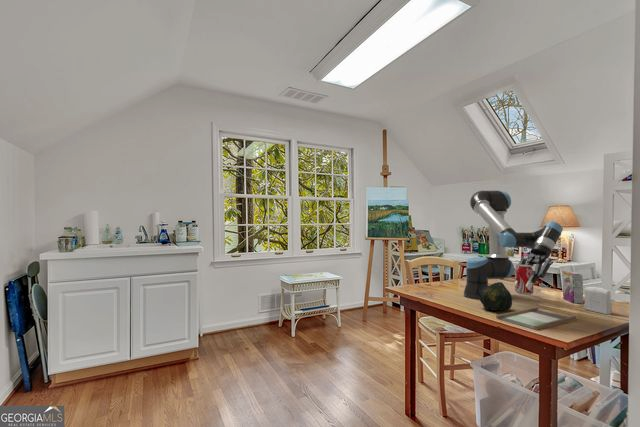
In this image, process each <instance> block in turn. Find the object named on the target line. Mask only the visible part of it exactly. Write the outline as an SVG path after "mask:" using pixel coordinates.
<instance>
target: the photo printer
mask: <svg viewBox="0 0 640 427" xmlns="http://www.w3.org/2000/svg"><path fill="white" fill-rule="evenodd" d="M611 295H612V294H611V292H610V290H608V289H606V288H602V287H600V286H599V287H598V286H586V287H585V288H584V309H585V310H586V311H590V312H594V313H595V312H596V313H599V314H603V315H607V314H608V315H607V316H609V315H611V312H612V308H611V307H612V306H611V305H612V303H611V297H612V296H611Z"/></svg>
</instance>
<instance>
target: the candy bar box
mask: <svg viewBox="0 0 640 427" xmlns="http://www.w3.org/2000/svg"><path fill="white" fill-rule="evenodd" d="M561 276H562V280H561V281H562V299H563V300H566V301H568V302H570V303H573V304H576V305H577V304H582V305H583V304H584V290H583V288H584V286H583V284H584V283H583V282H584V281H583V274H582V273H580V272H575V271H573V270H562V271H561Z"/></svg>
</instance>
